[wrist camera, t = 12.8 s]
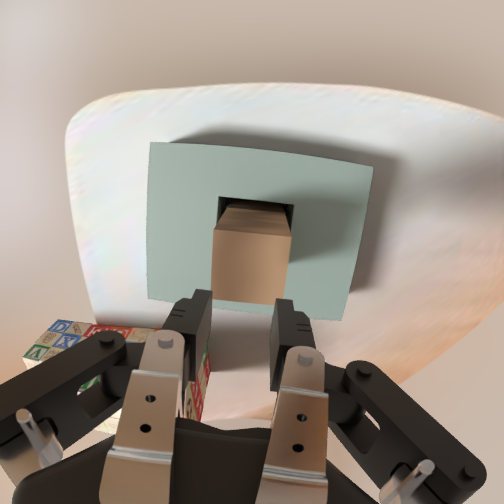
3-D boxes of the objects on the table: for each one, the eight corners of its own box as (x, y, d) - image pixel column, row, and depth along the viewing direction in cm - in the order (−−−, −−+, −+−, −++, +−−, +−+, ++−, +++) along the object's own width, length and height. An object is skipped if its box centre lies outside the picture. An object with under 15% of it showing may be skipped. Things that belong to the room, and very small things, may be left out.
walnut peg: (281, 201, 29) (292, 236, 18) (276, 247, 30) (282, 306, 19) (233, 196, 29) (212, 228, 18) (229, 242, 30) (209, 299, 19)
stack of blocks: (70, 354, 37) (28, 409, 25) (58, 317, 35) (7, 369, 23) (211, 371, 36) (194, 449, 25) (207, 331, 34) (183, 409, 22)
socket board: (356, 163, 27) (373, 166, 23) (331, 296, 32) (341, 320, 27) (168, 142, 27) (150, 142, 23) (163, 277, 32) (147, 298, 27)
